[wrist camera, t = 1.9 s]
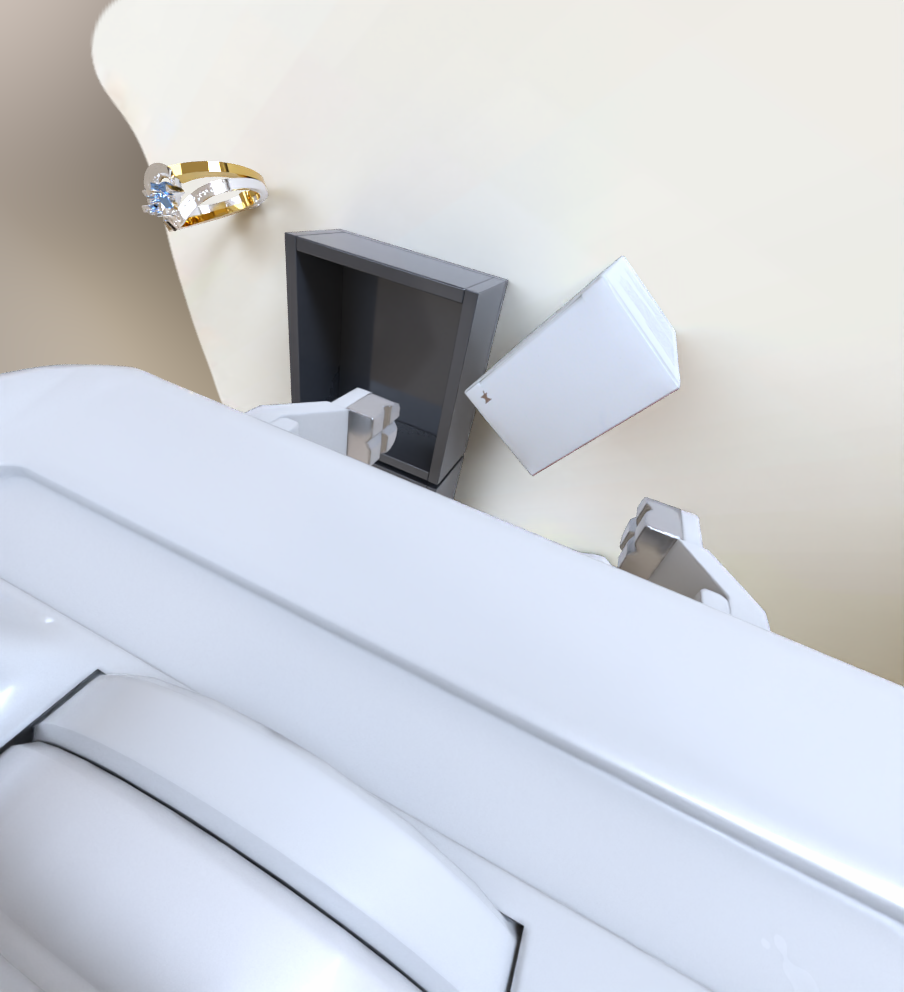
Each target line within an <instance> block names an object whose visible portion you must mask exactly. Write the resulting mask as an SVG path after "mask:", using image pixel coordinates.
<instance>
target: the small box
mask: <svg viewBox="0 0 904 992" xmlns="http://www.w3.org/2000/svg"><path fill="white" fill-rule="evenodd" d="M679 388H680V374H679V365H678V352H677V342H676V333H675V331H674V329H673V327H672V326H671V324H670V323H669V321H668V320H667V318H666V317H665V315H664V314H663V312H662V311H661V309H660V308H659V306H658V305H657V303H656V302H655V300H654V299H653V297H652V296H651V294H650V293H649V292H648V290H647V289H646V287H645V286H644V284H643V283H642V281H641V280H640V278H639V277H638V275H637V274H636V272H635V271H634V270H633V268H632V267H631V265H630V264H629V263H628V261H627V260H626V258H625V257H624V256H621V257H620V258H618V259H617V260H616V261H615V262H613V263H612V264H611V265H610V266H609V267H608V268H606V269H605V270H604V271H603V272H602V273H601V274H599V275H598V276H597V277H596V278H595V279H594V280H593V281H591V282H590V283H589V284H588V285H587V286H586V287H585V288H583V289H582V290H581V291H580V292H579V293H578V294H576V295H575V296H574V297H573V298H572V299H571V300H569V301H568V302H567V303H566V304H565V305H564V306H562V307H561V308H560V309H559V310H558V311H556V312H555V313H554V314H553V315H552V316H551V317H549V318H548V319H547V320H546V321H545V322H543V323H542V324H541V325H540V326H539V327H538V328H536V329H535V330H534V331H533V332H532V333H530V334H529V335H528V336H527V337H526V338H525V339H523V340H522V341H521V342H520V343H519V344H518V345H517V346H515V347H514V348H513V349H512V350H511V351H510V352H508V353H507V354H506V355H505V356H504V357H503V358H501V359H500V360H499V361H498V362H497V363H496V364H495V365H494V366H492V367H491V368H490V369H489V370H488V371H487V372H486V373H485V374H483V375H482V376H481V377H480V378H479V379H478V380H477V381H475V382H474V383H473V384H472V385H471V386H470V387H469V388H467V389H466V390H465V394H466V396H467V397H468V398H469V399H470V401H471V402H472V403H473V404H474V406H475V407H476V408H477V409H478V411H479V412H480V413H481V414H482V416H483V417H484V418H485V419H486V421H487V422H488V423H489V424H490V425H491V427H492V428H493V429H494V430H495V432H496V433H497V434H498V435H499V437H500V438H501V439H502V440H503V441H504V443H505V444H506V445H507V446H508V448H509V449H510V450H511V451H512V453H513V454H514V455H515V456H516V458H517V459H518V460H519V461H520V462H521V464H522V465H523V466H524V467H525V468H526V469H527V471H528V472H529V473H530V474H531V475H532V476H534V475H536V474H537V473H539V472H540V471H542V470H544V469H545V468H547V467H549V466H551V465H552V464H554V463H555V462H557V461H559V460H560V459H562V458H564V457H565V456H567V455H569V454H570V453H572V452H574V451H575V450H577V449H579V448H581V447H582V446H584V445H586V444H587V443H589V442H591V441H592V440H594V439H596V438H597V437H599V436H601V435H602V434H604V433H606V432H607V431H609V430H611V429H612V428H614V427H616V426H617V425H619V424H621V423H622V422H624V421H626V420H627V419H629V418H631V417H632V416H634V415H636V414H637V413H639V412H641V411H643V410H644V409H646V408H648V407H649V406H651V405H653V404H654V403H656V402H658V401H659V400H661V399H663V398H664V397H666V396H668V395H669V394H671V393H673V392H675V391H677V390H678V389H679Z"/></svg>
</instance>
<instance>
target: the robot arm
mask: <svg viewBox="0 0 904 992" xmlns="http://www.w3.org/2000/svg"><path fill="white" fill-rule="evenodd" d="M399 412H400V406H399V403H396V402H394V401H391V400H389V399H386V398H384V397H381V396H379V395H376V394H374V393H372V392H370V391H367V390H364V389H361V388H356V389H354V390H352V391H350V392H349V393H347V394H345V395H343V396H342V397H340V398H338V399H336V400H335V401H333V402H328V401H321V402H306V403H291V404H276V405H261V406H258V407H256V408H254V409H252V410H250V411H248V412H245V413H243V412H241V411H238V410H236V409H233V408H231V407H229V406H226V405H224V404H221V403H219V402H216V401H214V400H211V399H209V398H207V397H204V396H202V395H199V394H197V393H195V392H192V391H190V390H188V389H185V388H183V387H180V386H178V385H176V384H173V383H170V382H168V381H166V380H163V379H161V378H159V377H157V376H155V375H152V374H150V373H148V372H145V371H143V370H140V369H138V368H134V367H126V366H114V365H79V364H71V365H49V366H41V367H34V368H27V369H22V370H17V371H12V372H6V373H2V374H0V992H904V687H903V686H901V685H899V684H896V683H894V682H891V681H889V680H886V679H884V678H881V677H879V676H877V675H874V674H872V673H869V672H867V671H864V670H862V669H860V668H857V667H855V666H852V665H850V664H848V663H845V662H843V661H840V660H838V659H836V658H833V657H831V656H828V655H826V654H824V653H821V652H819V651H816V650H814V649H812V648H809V647H807V646H804V645H802V644H800V643H797V642H795V641H792V640H790V639H788V638H785V637H783V636H780V635H778V634H775V633H773V632H771V630H770V627H769V623H768V619H767V615H766V612H765V611H764V610H763V609H762V608H761V607H760V605H759V604H758V603H757V602H756V601H755V600H754V599H753V598H752V597H751V596H750V595H749V594H748V592H747V591H746V590H745V589H744V588H743V587H742V586H741V585H740V584H739V583H738V582H737V581H736V580H735V578H734V577H733V576H732V575H731V574H730V573H729V572H728V571H727V570H726V569H725V568H724V567H723V565H722V564H721V563H720V562H719V561H718V560H717V559H716V558H715V557H714V556H713V555H712V554H711V552H710V551H709V550H707V549H704V548H703V543H702V536H701V529H700V522H699V517H698V516H697V515H695V514H692V513H689V512H686V511H683V510H681V509H678V508H676V507H673V506H670V505H667V504H664V503H661V502H659V501H656V500H653V499H650V498H647V497H644V499H643V500H642V501H641V503H640V504H639V506H638V507H637V515H636V517H635V518H632V519H630V521H629V523H628V524H627V526H626V528H625V530H624V533H623V535H622V538H621V542H620V549H621V550H622V552H621V553H620V555H619V557H618V566H617V568H616V567H614V566H611V565H609V564H607V563H604V562H602V561H599V560H597V559H595V558H592V557H590V556H587V555H585V554H583V553H580V552H578V551H575V550H573V549H570V548H568V547H566V546H563V545H561V544H558V543H556V542H554V541H551V540H549V539H546V538H544V537H542V536H539V535H537V534H534V533H532V532H529V531H527V530H525V529H522V528H520V527H517V526H515V525H513V524H510V523H508V522H505V521H503V520H501V519H498V518H496V517H493V516H491V515H489V514H486V513H484V512H481V511H479V510H477V509H474V508H472V507H469V506H467V505H465V504H462V503H460V502H457V501H455V500H452V499H450V498H448V497H445V496H443V495H440V494H438V493H436V492H433V491H431V490H428V489H426V488H424V487H421V486H419V485H416V484H414V483H412V482H409V481H407V480H404V479H402V478H400V477H397V476H395V475H392V474H390V473H388V472H385V471H383V470H380V469H378V468H376V467H373V466H372V465H373V464H374V463H375V462H376V461H377V460H378V459H379V457H380V454H381V453H386V452H387V451H388V450H389V449H391V447H392V445H393V443H394V442H395V438H396V435H397V426H396V424H395V422H394V420H396V419H397V418H398V417H399Z"/></svg>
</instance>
